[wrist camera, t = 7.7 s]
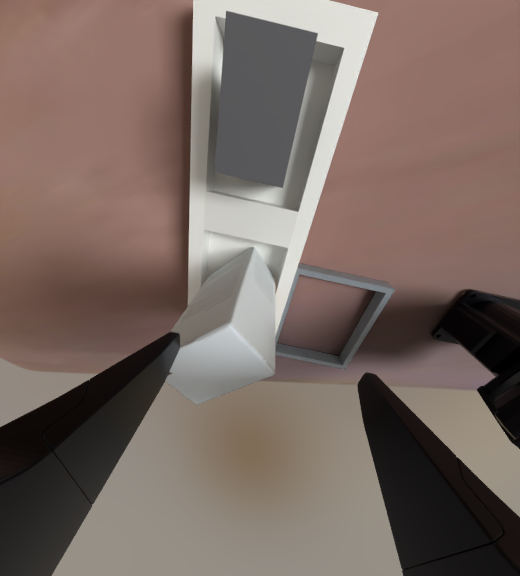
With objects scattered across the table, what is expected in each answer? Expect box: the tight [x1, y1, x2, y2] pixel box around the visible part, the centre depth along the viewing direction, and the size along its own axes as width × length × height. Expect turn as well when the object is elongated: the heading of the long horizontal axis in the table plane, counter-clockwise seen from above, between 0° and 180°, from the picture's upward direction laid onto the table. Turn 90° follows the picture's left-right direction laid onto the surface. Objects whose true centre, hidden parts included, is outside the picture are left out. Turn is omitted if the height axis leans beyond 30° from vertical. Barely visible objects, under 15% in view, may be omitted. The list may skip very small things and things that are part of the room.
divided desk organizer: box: [188, 0, 378, 336], centre depth 17 cm, size 10×24×2 cm, turn 169°
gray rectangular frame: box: [275, 263, 395, 369], centre depth 23 cm, size 10×12×2 cm
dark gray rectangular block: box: [214, 11, 318, 188], centre depth 12 cm, size 4×6×6 cm, turn 169°
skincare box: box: [165, 247, 275, 405], centre depth 16 cm, size 6×4×12 cm
